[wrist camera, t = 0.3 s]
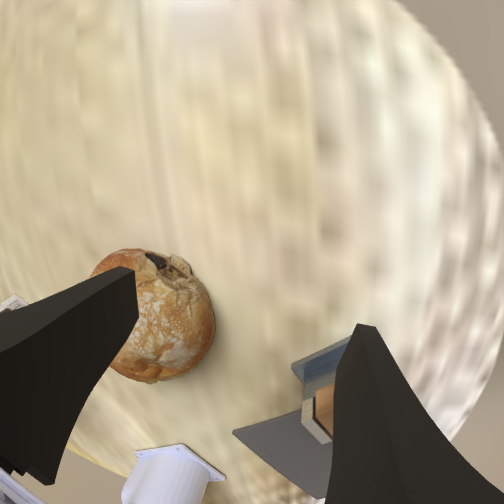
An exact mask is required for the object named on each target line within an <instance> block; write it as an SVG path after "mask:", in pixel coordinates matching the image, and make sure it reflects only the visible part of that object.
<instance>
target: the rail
mask: <svg viewBox="0 0 504 504" xmlns="http://www.w3.org/2000/svg"><path fill="white" fill-rule="evenodd" d="M334 385H335V383H333V384H331V385H328V386H326V387H323V388H321V389H319V390H316V418H317V419H318V420H319V421H320V422H321V424H322V425H323V426H324V427H325V428H326V429H327V430H328V431H329V432H330V433H331V435H332V436H333V394H334Z"/></svg>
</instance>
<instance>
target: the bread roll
mask: <svg viewBox="0 0 504 504" xmlns="http://www.w3.org/2000/svg"><path fill="white" fill-rule="evenodd" d="M118 266H122V267H126V268H129V269H133V270H135V279H136V290H137V300H138V309H139V319H138V321H137V323H136V325H135V327H134V329H133V331H132V332H131V334H130V336H129V338H128V340H127V341H126V343H125V344H124V346H123V347H122V348H121V350H120V351H119V353H118V354H117V355H116V357H115V358H114V360H113V361H112V362H111V364H110V365H109V366H110V367H111V368H112V369H114V370H115V371H116V372H118V373H119V374H121V375H123V376H125V377H127V378H129V379H133V380H135V381H139V382H145V383H147V384H153V383H156V382H158V381H166V380H171V379H173V378H177V377H181V376H183V375H185V374H188V373H189V372H190V371H191V370H192V369H194V368H196V367H197V365H198V364H199V362H200V360H201V359H202V358H203V356H204V355H205V353H206V352H207V351H208V349H209V347H210V345H211V344H212V341H213V338H214V333H215V325H214V318H213V316H214V313H213V312H212V309H211V306H210V301H209V297H208V294H207V292H206V290H205V287H204V286H203V285H202V284H201V282H200V281H199V280H198V279H197V278H196V277H194V276H193V275H191V273H190V271H191V268H190V265H189V264H188V263H187V262H186V261H185V260H183V259H182V258H181V257H179V256H176V255H173V254H171V257H167V256H165V255H162V254H159V253H156V252H152V251H144V250H142V249H122V250H119V251H117V252H115V253H112V254H110V255H109V256H107V257H106V258H105V259H103V260H102V261H101V262H100V263H99V264H98V265H97V267H96V268H95V269H94V271H93V273H92V274H91V275H90V277H89V279H90V278H92V277H94V276H96V275H98V274H101V273H103V272H105V271H107V270H110V269H112V268H115V267H118Z"/></svg>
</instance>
